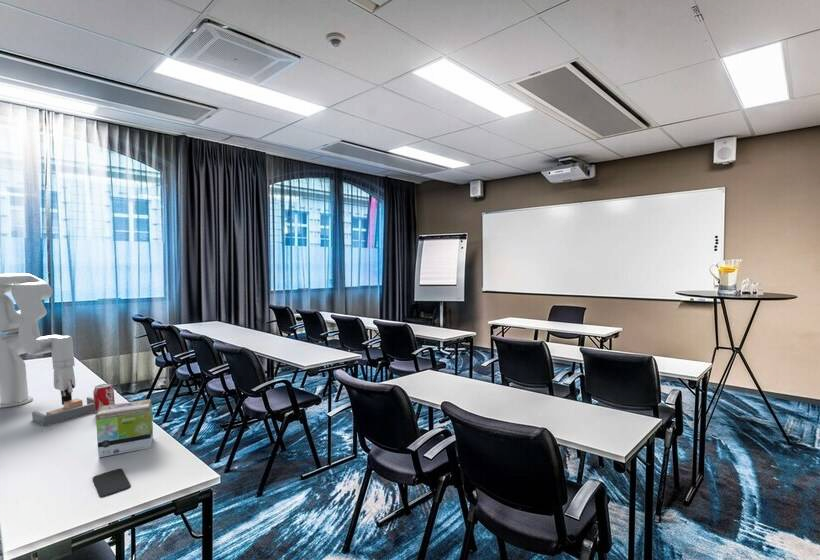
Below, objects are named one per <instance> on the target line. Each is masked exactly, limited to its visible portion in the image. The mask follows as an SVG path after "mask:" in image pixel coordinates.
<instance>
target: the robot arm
mask: <svg viewBox="0 0 820 560" xmlns="http://www.w3.org/2000/svg"><path fill="white" fill-rule="evenodd" d="M7 293H11V295H12V298H13V300H14V301H13V300H12V298H10V296H8V295H7ZM52 295H53V289H52V287H51V285H50V284H49V283H48V282H46V281H44V279H41V278H38V277H37V276H35V275H32V274H31V273H26V272H21V273H19V272H17V273H0V334H9V333H15V332H18V333H16V334H9V335H4V336H2V337H1V336H0V408H1V409H2V408H10V407H11V408H12V407H17V406H21V405H24V404H28V403H29V402H31V401H33V400H34V397H33V396H30V395H29V388H28V378H27V369H26V363H25V361H24V359H22V357H21V356H20V355H23V354H27V355H29V356H39V355H44V354H48V353H51V360H52V369H53V388H54V389H55V390H59V392H60V396H61V398H60V399H61V405H63V406H64V402H65V401H69V400H73V398H72V395H73V394H72V393H73V389H75V387H76V378H75V377H76V376H75V372H74V371H75V370H74V366H75V353H74V342H73V337H72V336H71V335H60V334H50V335H44V336H43V335H42V336H41V332H40V327H39V322H38V320H41V319H43V318H44V317H45V316H46V315H48V311H47V309H46V307H45V305H44V303H43V300H48V299H50V298H51V297H52ZM14 302H15V304H16V306H17V309H18V310H16V309H15V304H14Z"/></svg>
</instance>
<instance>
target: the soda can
mask: <svg viewBox="0 0 820 560" xmlns="http://www.w3.org/2000/svg"><path fill="white" fill-rule="evenodd" d="M114 389H115V388H114V387H113V386H112V383H102V384H98V385H96V386H94V389H93V391H92V392H93V393H92V394H93V397H92V398H94V409H95V412H94V414H95V416H96V415H97V414H98V412H99V410H100V408H101V406H107V405H114V404H116V403H115V402H116V401H115V390H114Z"/></svg>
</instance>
